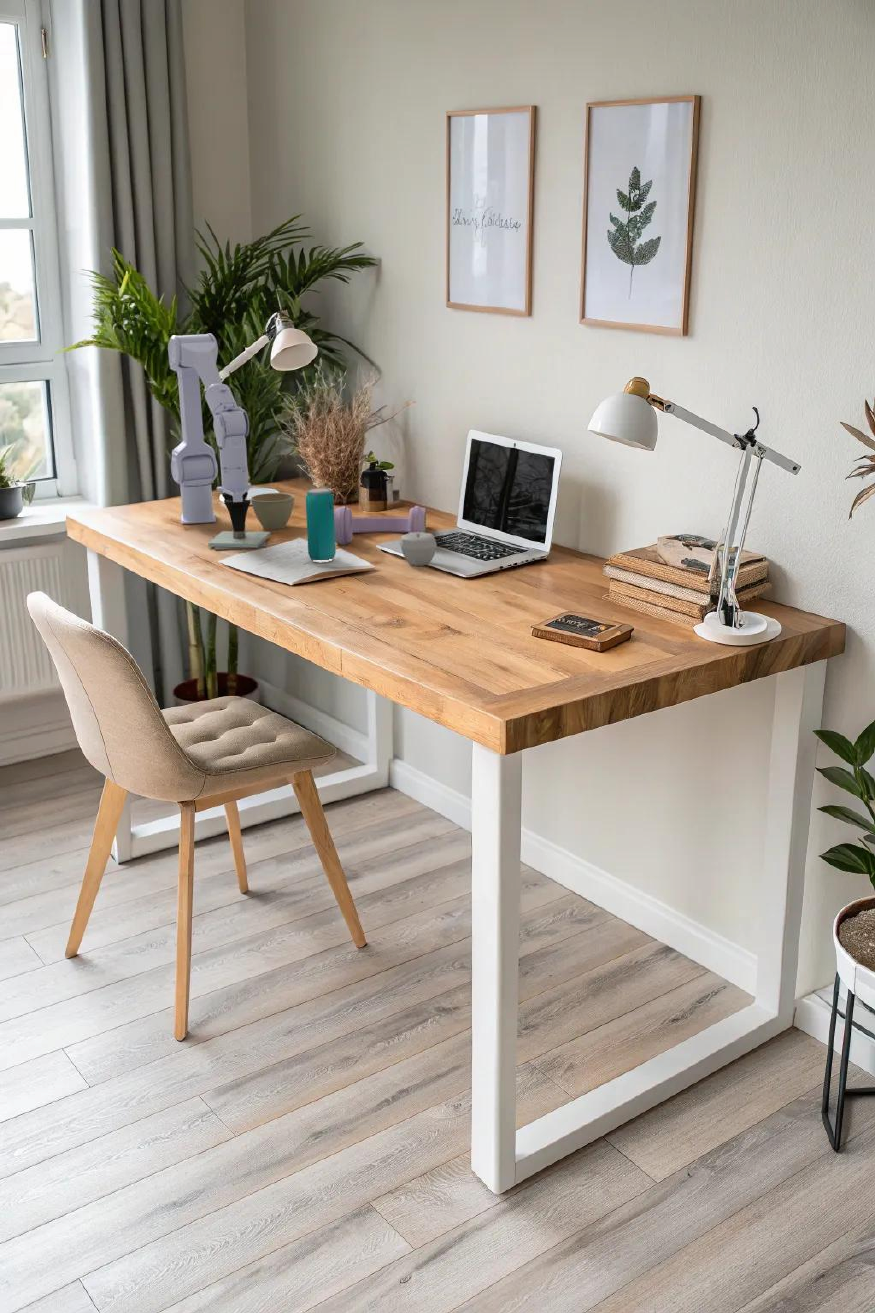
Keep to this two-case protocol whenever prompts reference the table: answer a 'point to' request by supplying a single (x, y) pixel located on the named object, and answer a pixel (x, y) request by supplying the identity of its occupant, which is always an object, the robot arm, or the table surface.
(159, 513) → the table surface
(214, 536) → the mat
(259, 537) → the lid
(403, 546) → the apple
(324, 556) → the beverage can
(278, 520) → the flower pot
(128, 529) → the table surface
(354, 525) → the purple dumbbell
